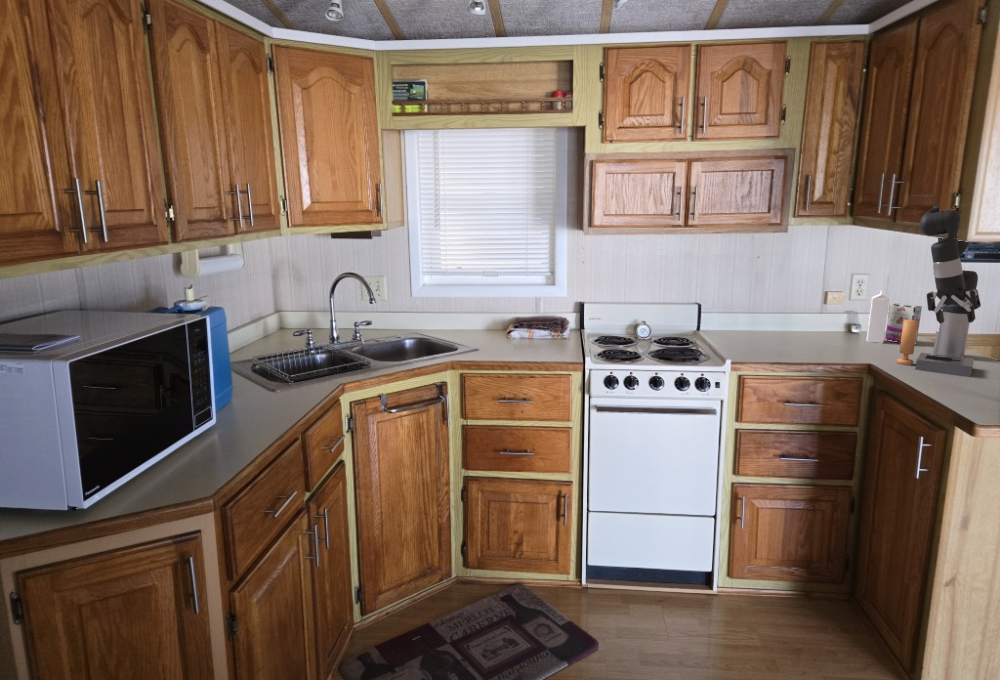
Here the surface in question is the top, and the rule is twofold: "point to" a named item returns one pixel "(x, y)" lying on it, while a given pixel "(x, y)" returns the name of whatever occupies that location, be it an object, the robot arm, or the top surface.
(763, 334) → the top surface
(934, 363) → the keyhole plate
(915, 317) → the candy bar box
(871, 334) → the milk
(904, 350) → the post
